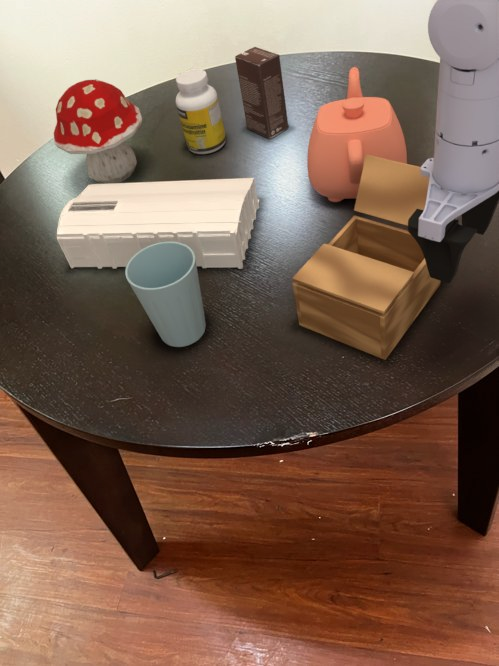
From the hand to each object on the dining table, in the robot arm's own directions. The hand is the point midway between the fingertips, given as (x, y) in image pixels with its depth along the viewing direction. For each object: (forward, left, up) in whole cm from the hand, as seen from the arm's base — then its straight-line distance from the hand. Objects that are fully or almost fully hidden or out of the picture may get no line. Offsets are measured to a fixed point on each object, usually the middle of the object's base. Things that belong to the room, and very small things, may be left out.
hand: (458, 253), depth 63 cm
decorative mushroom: (+43, -42, -11) cm, 61 cm away
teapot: (+6, -30, -11) cm, 32 cm away
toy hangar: (+33, -24, -11) cm, 42 cm away
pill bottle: (+28, -46, -11) cm, 55 cm away
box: (+18, -48, -11) cm, 52 cm away
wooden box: (+8, -5, -10) cm, 14 cm away
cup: (+30, -5, -11) cm, 32 cm away
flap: (+3, -11, 0) cm, 12 cm away
